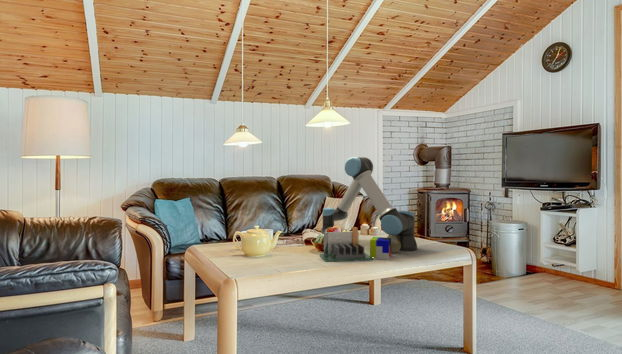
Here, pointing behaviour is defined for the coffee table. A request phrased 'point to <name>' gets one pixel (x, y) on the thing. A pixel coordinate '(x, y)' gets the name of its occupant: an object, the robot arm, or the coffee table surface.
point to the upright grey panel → (337, 240)
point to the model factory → (348, 251)
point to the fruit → (394, 243)
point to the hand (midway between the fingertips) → (341, 240)
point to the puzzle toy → (380, 247)
